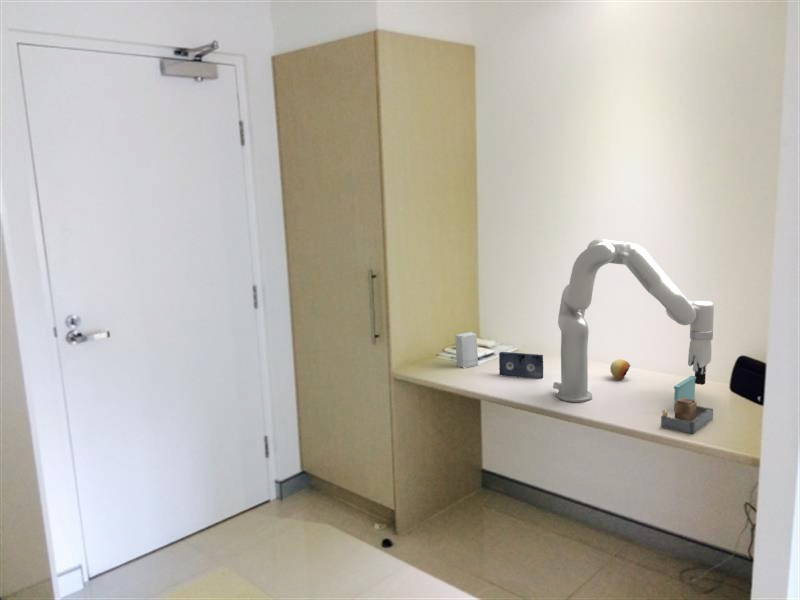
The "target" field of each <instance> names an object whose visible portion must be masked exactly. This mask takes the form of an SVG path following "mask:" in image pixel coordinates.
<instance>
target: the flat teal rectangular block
mask: <svg viewBox="0 0 800 600" xmlns="http://www.w3.org/2000/svg"><path fill="white" fill-rule="evenodd" d="M695 379H696V376H695V375H691V376H689V377H687V378H685V379H684V380H682V381H680V382H679V383H676V385H674V386H673V389H674V406H673V407H674V409H673V411H674V412H675V402H677V401H678V400H679V399H681V398H687V399H692V400H695V397H696V395H695V394H696V393H695V391H696V390H695V389H696V384H695Z"/></svg>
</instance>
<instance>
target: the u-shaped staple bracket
mask: <svg viewBox="0 0 800 600" xmlns="http://www.w3.org/2000/svg"><path fill="white" fill-rule="evenodd" d="M660 418H661V420H660V428H661V427H662V428H666V429H669V430H675V431H678V432H683V433H687V434H692V435H694V434H695V433H696V432H698V431H700V429H702V428H704V426H705V425H707V424H709V423H710V422H711V421H712V420H713V419H714V408H709V407H705V406H701V405H697V411H696V418H695V419H694V420H692V421H686V420H682V419H677V418H675V417H672V416H668V410H667V409H663V410H662V415H661V417H660Z"/></svg>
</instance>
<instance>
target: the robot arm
mask: <svg viewBox="0 0 800 600" xmlns="http://www.w3.org/2000/svg"><path fill="white" fill-rule="evenodd" d="M608 264H616V265H622V266H623V265H624V266H626V267H627V268H628V270H629V271H630V273H632V275H634V277H635V279H636V280H637V281H638V282H639V283H640V284H641V286H642V287H643V288H644V290H645V291H647V293H648V294H650V295H651V296H652V297H654V298H655V299H656V300H657V301H658V302H659V303H660V304H661V305H662V306H663V307H664V308H665V312H666V315H667V316H668V317H669V318H670V319H671V320H672V321H675V323H677V324H678V325H681V326H688V325H689V327H690V328H689V339H690V341H689V346H688V359H687V365H688V366H689V367H692V371H693V372H694V376H696V379H695V385H700V386H701V385H702V386H703V385H705V384H706V374H707V373H706V372H707V366H708V364H710V363H711V361H712V340H713V339H714V314H715V313H714V308H715V304H714V302H712V301H709V300H703V299H700V300H699V299H698V300H688V299H687V298H686V296H685V295H684V294H683V293H682V291H681V290H680V289H679V288H678V287H677V285H675V284H674V282H673V281H672V280H671V278H669V277H668V275H667V274H666V273H665V272H664V271H663V269H662V268H661V267H660V266H659V264H658V263H657V262H656V261H655V259H654V258H653V257H652V255H650V254H649V252H648V251H647V250H646V248H644V247H643V246H641V245H639V244H637V243H633V242H627V241H626V242H625V241H618V240H617V241H616V240H611V239H609V240H608V239H603V238H602V239H601V238H598V239H593V240H592V241H590V242H589V244H588V245H587V248H586V249H584V250H583V251H581V252H580V254H579V255H578V256H577V257H576V259H575V261H574V263H573V265H572V270H571V272H570V273H571V274H570V279H569V283H568V284H567V285H566V286H565V287H564V289H563V291H562V294H561V299H560V304H559V310H558V316H557V324H558V327H559V331H560V334H561V335H560V337H561V338H560V371H561V372H560V374H561V375H560V377H561V379H560V381H561V382H558V381H554V382H553V386H552V388H553V389H556V390H558V392H557V393H556V397H557V398H558V399H559V400H561V401H565V402H570V403H571V402H572V403H581V402H587V401H590V400H591V399H592V398H593V395H592V393H591V392H590V391H589V390H588V387H589V386H588V380H589V379H588V377H589V376H588V374H589V373H588V367H589V366H588V343H589V332H590V331H589V326H588V322H587V320H586V319H585V312H586V310H587V309H589V307H590V305H591V303H592V301H593V300H592V299H593V291H594V285H595V279H596V275H597V273H598V271H599V270H600V268H601V267H603V266H606V265H608Z"/></svg>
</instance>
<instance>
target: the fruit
mask: <svg viewBox="0 0 800 600" xmlns="http://www.w3.org/2000/svg"><path fill="white" fill-rule="evenodd" d="M630 367H631V364H630V363H629V362H628V361H626V360H625V359H624V360H623V359H616V360H614V361H613V362H612V363H611V365H610V368H609V369H610V373H611V374H612V377H614V378H615V379H618V380H623V379H624V378H625V377H626V375H627V372H628V371H629V369H630Z"/></svg>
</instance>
